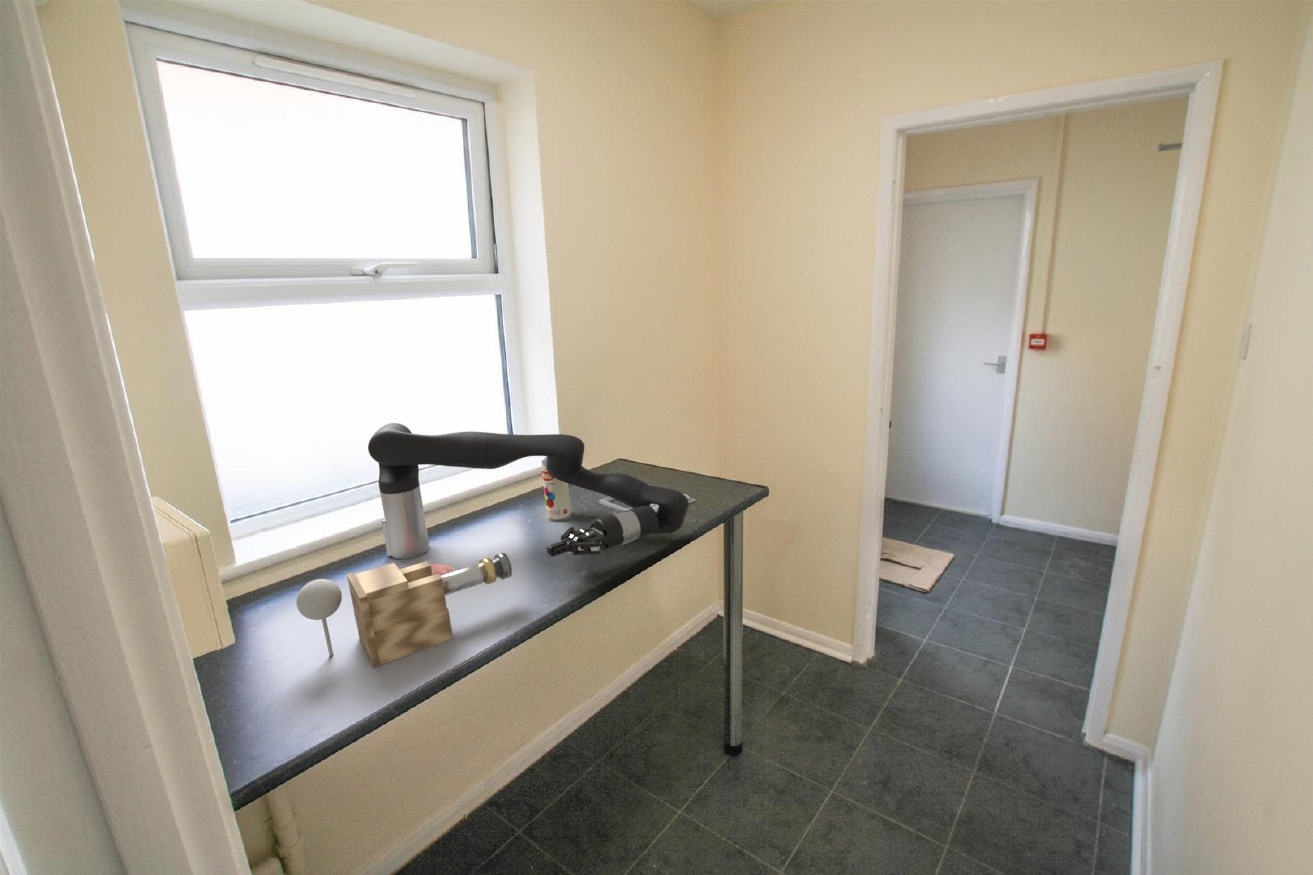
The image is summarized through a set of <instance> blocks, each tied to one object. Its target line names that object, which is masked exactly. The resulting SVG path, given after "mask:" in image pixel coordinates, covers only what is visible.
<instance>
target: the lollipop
mask: <svg viewBox="0 0 1313 875" xmlns="http://www.w3.org/2000/svg"><path fill="white" fill-rule="evenodd" d="M342 597H343V596H342V590H341V588H340V587H339V585H338V584H337V583H336V582H334V581H332V580H330V579H328V578H318V579H317V578H316V579H314V580H311V581H309V582H307V583H306V584H304V586H302V588H301V589H300V590H299V592H298V594H297V597H296V607H297V610H298V612H299V613H300V615H302V616H303V617H305V618H306V619H309V620H314V621H319V620H321V623H322V626H323V631H324V636H325V640H326V641H325V642H326V645H327V652H328V656H329V657H332V655H333V656H334V650H333V646H332V641H331V637H330V636H331V635H330V632H329V628H328V622H327V618H329V617H331V616H332V615H333V614H335V613H336V612H337V610H338V609H339V608H340V606H341V603H342V601H343V600H342V599H343V598H342Z"/></svg>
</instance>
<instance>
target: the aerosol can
mask: <svg viewBox="0 0 1313 875" xmlns="http://www.w3.org/2000/svg"><path fill="white" fill-rule="evenodd" d="M546 462H547V456H544V459H543V460H541V465H540V466H541V474H542V475H541V476H542V484H543V492H544V493H543V495H544V504H545V512H546V519H547V521H549V522H552V523H554V522H556V523H559V522H564V521H567V520H569V519H570V518H571V517H572V511H571V502H570V500H571V499H570V492H569V491H570V490H569V484H568V483H565V482H562V481H560V480H557V479H555V478H553V477H552V476H551V475H550V474H549V473H548V472H547V468H546Z"/></svg>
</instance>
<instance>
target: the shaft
mask: <svg viewBox="0 0 1313 875" xmlns="http://www.w3.org/2000/svg"><path fill="white" fill-rule="evenodd" d="M512 572H513V571H512V564H511V561H510V559H509V557H508V554H507V553H506V552H501V553H498V554H495V555H494V557H493V558H492V559H491V558H490V557H485V558H481V559H480V560H479V562H478V563H475V564H472V565H469V566H466V567H463V568H459V569H457V570H456V569H455V570H454V571H450V572H449V573H447V574H443V575H440V576H441V577H442V580H443V587H444V593H445V596H448V595H451V594H454V593H457V592H460V591H462V590H466V589H468V588H472V587H475V586H478V585H480V584H485V585H487V586H488V585H490V584H493V583H496V582H497V579H501V580H505V579H508V578H511V577H512V575H513V573H512Z"/></svg>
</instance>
